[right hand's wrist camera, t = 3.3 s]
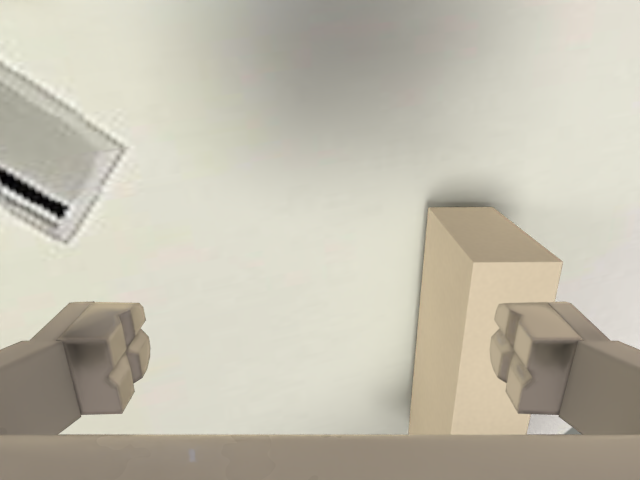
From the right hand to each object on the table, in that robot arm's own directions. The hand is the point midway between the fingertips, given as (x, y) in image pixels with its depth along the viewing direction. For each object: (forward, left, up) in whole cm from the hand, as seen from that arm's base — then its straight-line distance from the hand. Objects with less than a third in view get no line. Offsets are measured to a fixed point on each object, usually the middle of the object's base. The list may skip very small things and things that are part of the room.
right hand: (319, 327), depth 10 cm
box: (+19, +13, -29) cm, 36 cm away
